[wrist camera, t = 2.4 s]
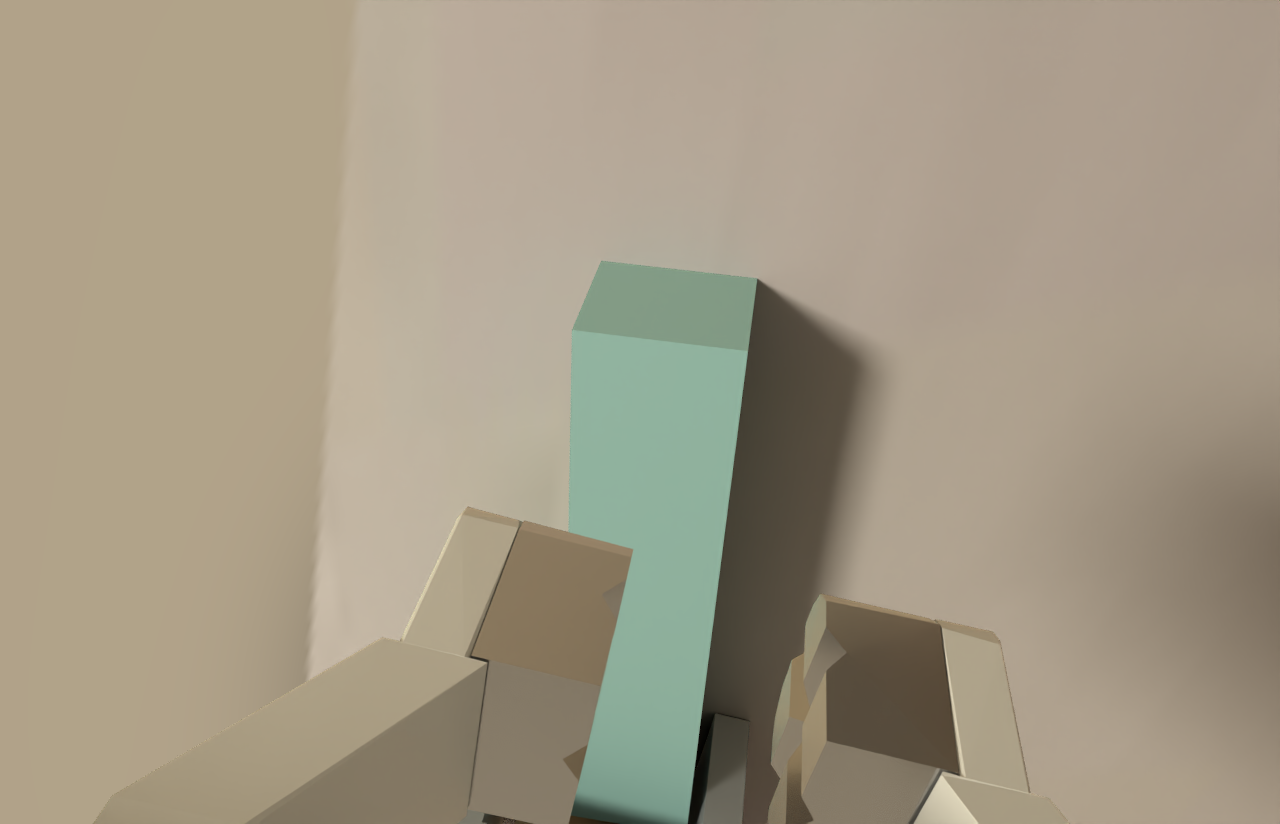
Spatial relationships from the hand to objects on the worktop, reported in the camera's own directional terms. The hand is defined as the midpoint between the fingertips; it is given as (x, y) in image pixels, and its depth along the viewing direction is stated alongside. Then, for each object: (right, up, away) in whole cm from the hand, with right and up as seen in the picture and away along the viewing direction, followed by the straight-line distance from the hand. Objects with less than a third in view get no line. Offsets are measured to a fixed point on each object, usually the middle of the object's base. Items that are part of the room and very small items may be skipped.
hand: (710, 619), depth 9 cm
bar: (0, -2, +22) cm, 23 cm away
